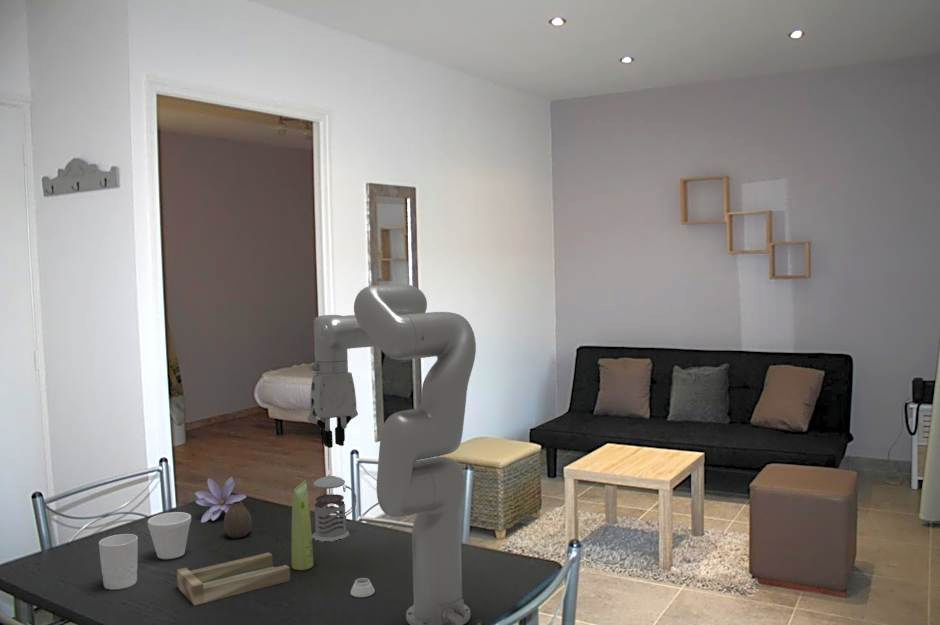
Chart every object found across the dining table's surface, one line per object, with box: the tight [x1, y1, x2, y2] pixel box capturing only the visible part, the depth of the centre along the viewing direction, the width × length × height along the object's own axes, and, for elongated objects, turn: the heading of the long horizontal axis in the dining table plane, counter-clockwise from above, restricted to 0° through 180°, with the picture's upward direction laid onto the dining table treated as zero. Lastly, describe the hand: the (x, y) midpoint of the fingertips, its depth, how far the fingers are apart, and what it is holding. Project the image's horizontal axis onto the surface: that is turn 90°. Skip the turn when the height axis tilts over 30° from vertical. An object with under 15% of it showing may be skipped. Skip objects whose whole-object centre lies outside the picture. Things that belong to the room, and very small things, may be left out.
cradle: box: [176, 552, 291, 606], centre depth 180 cm, size 12×21×4 cm, turn 125°
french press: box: [312, 447, 357, 542], centre depth 211 cm, size 10×12×25 cm
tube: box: [290, 479, 314, 571], centre depth 189 cm, size 6×5×20 cm
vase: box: [223, 501, 252, 539], centre depth 212 cm, size 7×7×9 cm
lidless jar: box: [349, 577, 376, 598], centre depth 174 cm, size 5×3×5 cm
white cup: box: [98, 533, 139, 590], centre depth 182 cm, size 8×8×10 cm
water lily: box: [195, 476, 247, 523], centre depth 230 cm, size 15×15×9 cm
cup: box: [147, 511, 192, 561], centre depth 199 cm, size 10×10×9 cm
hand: (334, 445), depth 193 cm, fingers closed
